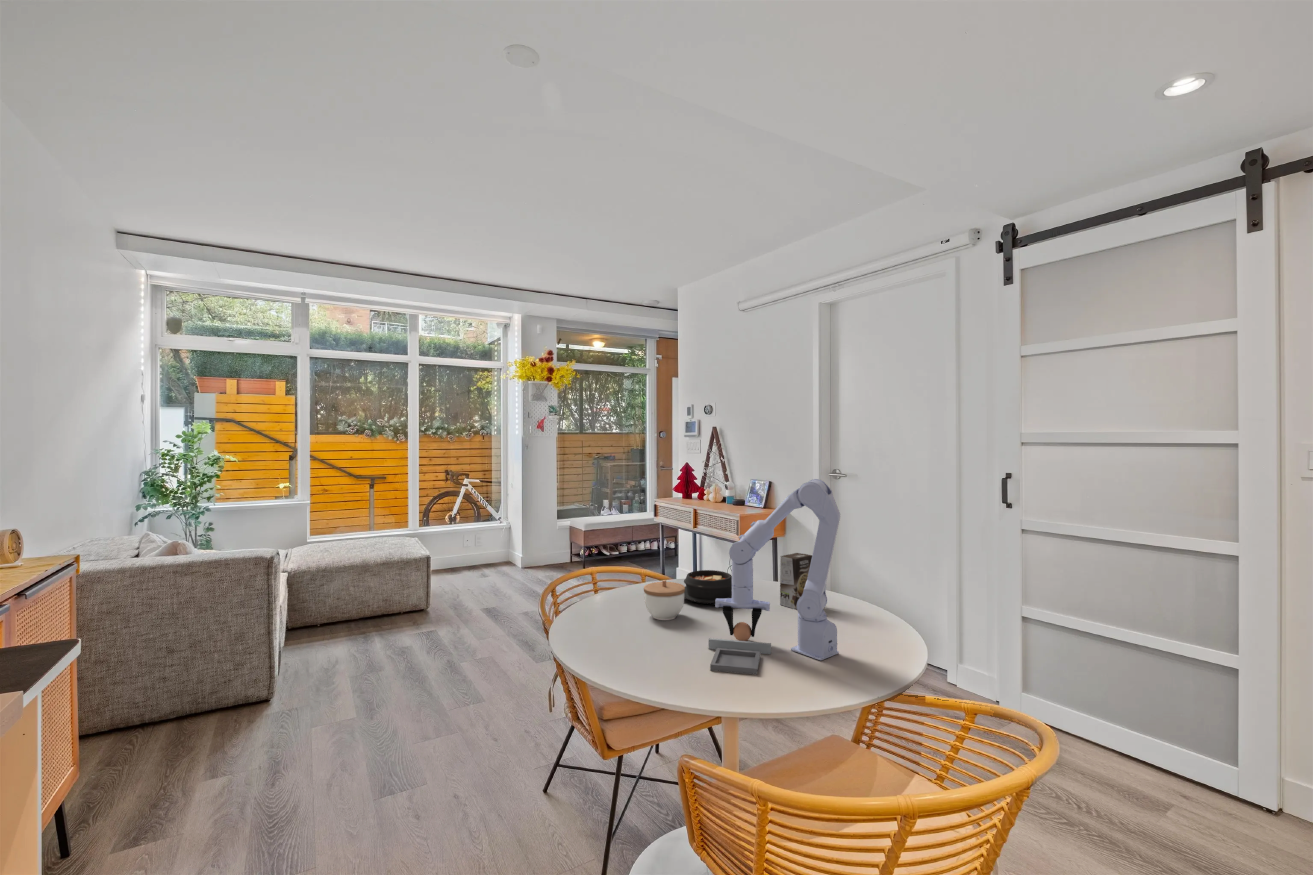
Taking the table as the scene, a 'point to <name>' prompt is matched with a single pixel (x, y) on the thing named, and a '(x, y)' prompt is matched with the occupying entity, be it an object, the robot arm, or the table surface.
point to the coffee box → (793, 577)
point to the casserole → (708, 586)
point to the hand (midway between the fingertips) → (742, 634)
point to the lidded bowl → (664, 599)
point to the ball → (742, 631)
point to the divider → (740, 645)
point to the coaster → (735, 661)
